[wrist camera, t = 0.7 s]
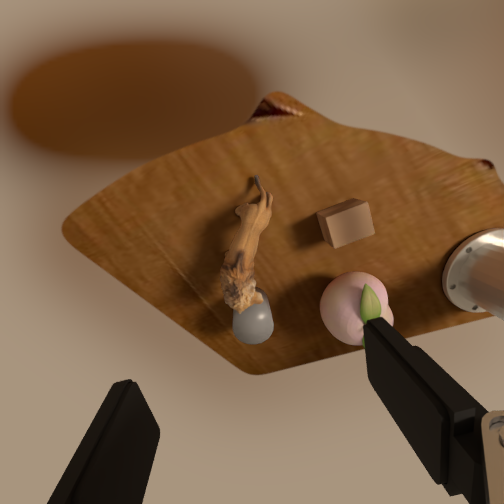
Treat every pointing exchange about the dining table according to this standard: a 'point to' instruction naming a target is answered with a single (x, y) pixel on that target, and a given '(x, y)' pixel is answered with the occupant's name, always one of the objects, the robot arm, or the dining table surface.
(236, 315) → the light grey cylinder
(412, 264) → the dining table surface
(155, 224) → the dining table surface
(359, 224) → the pale beige block
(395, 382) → the robot arm
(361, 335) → the decorative fruit
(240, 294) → the lion figurine
